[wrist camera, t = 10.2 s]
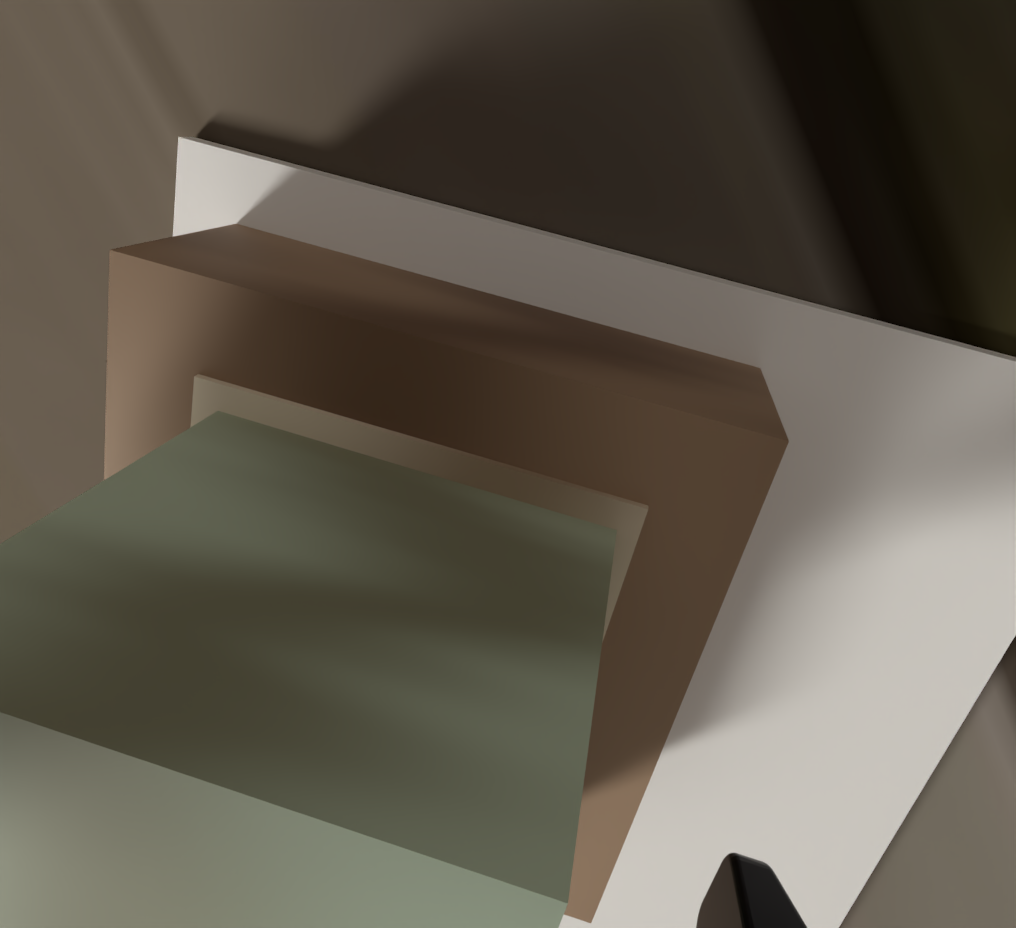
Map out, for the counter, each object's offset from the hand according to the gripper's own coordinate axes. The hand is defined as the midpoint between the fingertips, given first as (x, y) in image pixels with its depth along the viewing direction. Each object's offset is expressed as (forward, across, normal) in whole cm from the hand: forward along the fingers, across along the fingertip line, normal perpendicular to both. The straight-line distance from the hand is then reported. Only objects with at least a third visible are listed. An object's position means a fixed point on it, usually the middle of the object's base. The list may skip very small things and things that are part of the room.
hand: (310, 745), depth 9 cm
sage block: (+2, 0, 0) cm, 2 cm away
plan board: (+6, -2, +2) cm, 6 cm away
